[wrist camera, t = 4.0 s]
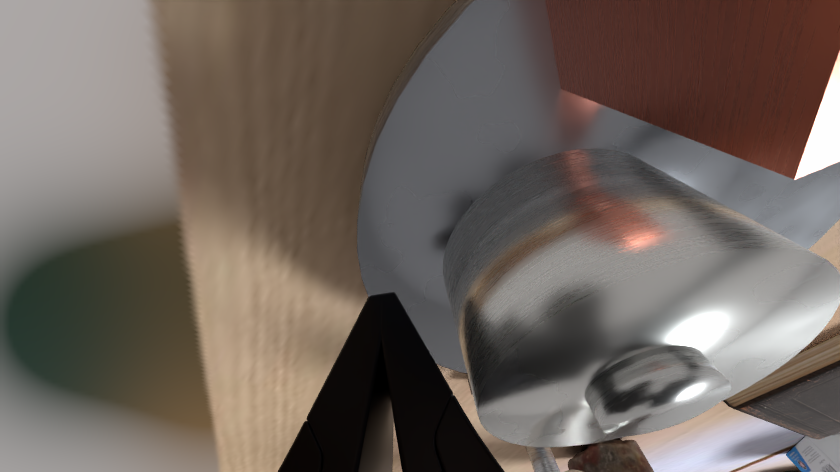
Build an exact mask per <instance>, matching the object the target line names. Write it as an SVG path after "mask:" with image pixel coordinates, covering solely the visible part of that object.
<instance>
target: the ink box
mask: <svg viewBox="0 0 840 472" xmlns="http://www.w3.org/2000/svg"><path fill="white" fill-rule="evenodd" d="M786 456H787V457H788V458H789V459H790V460H791V461H792V462H793V463H794V464H795V465H796V466H797V468H798V469H799V470H800V471H801V472H840V432H839V433H836V434H833V435H830V436H828V437H825V438H822V439H813V438H810V437H808V436H805V437H804V438H803V439H802V440H801V441H800V442H799V443H798V444H797V445H795V446H794V447H793V448H792V449H791V450H790V451H789V452H788V453H787V454H786Z"/></svg>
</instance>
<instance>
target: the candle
mask: <svg viewBox="0 0 840 472" xmlns="http://www.w3.org/2000/svg"><path fill="white" fill-rule="evenodd" d="M568 468H569V470H579V471H583V472H654V471H653V469H652V468H651V466H650V464H649V463H648V461H647V459H646V457H645V456H644V454H643V452H642V451H641V449H640V447H639V445H638V444H637V442H636V441H634V440H625V441H622V440H616V439H615V440H608V441H603V442H597V443H592V444H589V445H588V447H587V450H584V451H583V452H579V453H578V454H576V455H575V457H574V458H572V459H570V460H569V462H568Z"/></svg>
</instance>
